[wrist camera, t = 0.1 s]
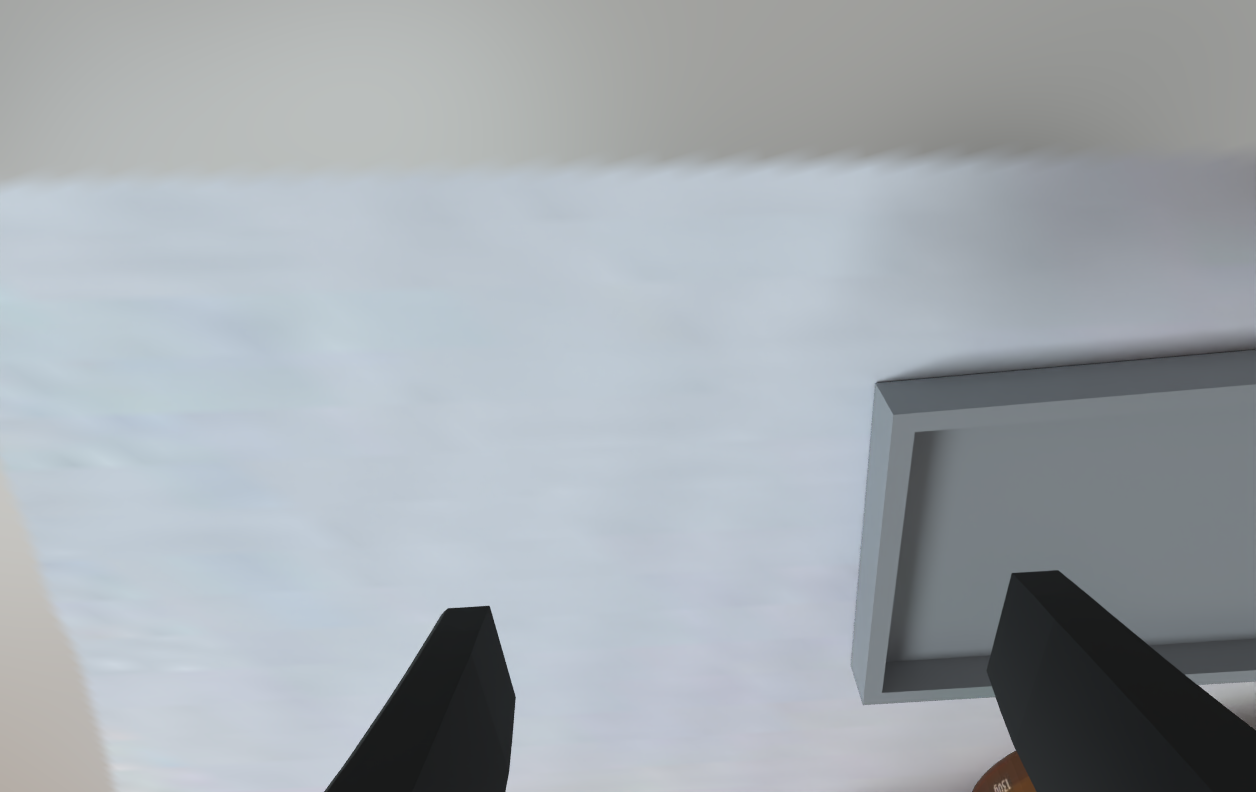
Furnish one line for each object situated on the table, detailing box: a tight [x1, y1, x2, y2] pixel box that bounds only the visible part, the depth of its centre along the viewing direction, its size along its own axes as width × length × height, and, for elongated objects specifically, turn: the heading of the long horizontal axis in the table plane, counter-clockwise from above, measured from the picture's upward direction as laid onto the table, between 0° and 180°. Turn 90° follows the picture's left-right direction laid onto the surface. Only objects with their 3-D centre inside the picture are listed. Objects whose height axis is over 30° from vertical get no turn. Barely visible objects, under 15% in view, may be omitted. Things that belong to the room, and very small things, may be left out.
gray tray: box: [851, 350, 1256, 705], centre depth 21 cm, size 12×20×2 cm, turn 96°
